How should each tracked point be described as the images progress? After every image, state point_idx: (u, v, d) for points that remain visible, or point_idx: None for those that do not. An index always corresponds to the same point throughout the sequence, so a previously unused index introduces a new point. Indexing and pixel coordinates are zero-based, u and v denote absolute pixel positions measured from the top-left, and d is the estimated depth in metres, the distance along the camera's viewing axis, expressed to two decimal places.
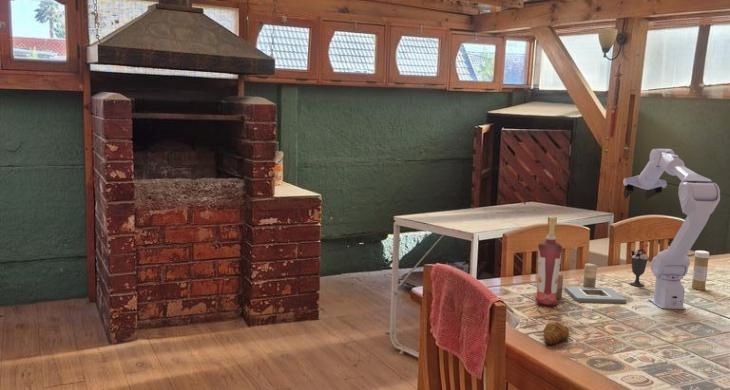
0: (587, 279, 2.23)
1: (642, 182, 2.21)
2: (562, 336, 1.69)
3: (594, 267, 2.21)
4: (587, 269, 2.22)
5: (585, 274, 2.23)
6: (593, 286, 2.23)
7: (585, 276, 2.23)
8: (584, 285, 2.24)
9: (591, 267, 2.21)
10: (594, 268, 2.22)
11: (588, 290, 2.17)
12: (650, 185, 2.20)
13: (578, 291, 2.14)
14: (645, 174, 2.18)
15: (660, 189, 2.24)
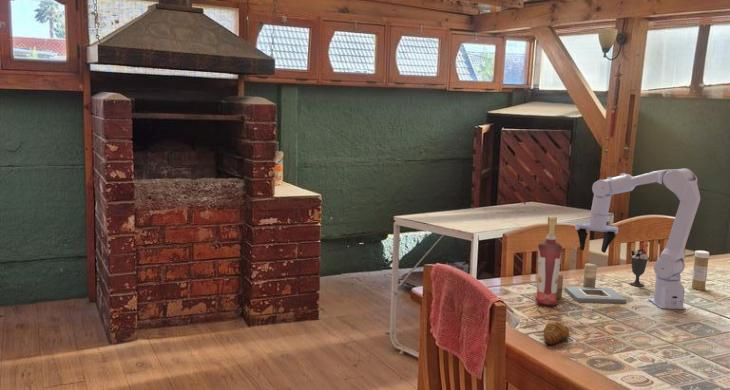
0: (587, 279, 2.23)
1: (593, 222, 2.21)
2: (562, 336, 1.69)
3: (594, 267, 2.21)
4: (587, 269, 2.22)
5: (585, 274, 2.23)
6: (593, 286, 2.23)
7: (585, 276, 2.23)
8: (584, 285, 2.24)
9: (591, 267, 2.21)
10: (594, 268, 2.22)
11: (588, 290, 2.17)
12: (601, 223, 2.20)
13: (578, 291, 2.14)
14: (598, 212, 2.20)
15: (613, 234, 2.22)
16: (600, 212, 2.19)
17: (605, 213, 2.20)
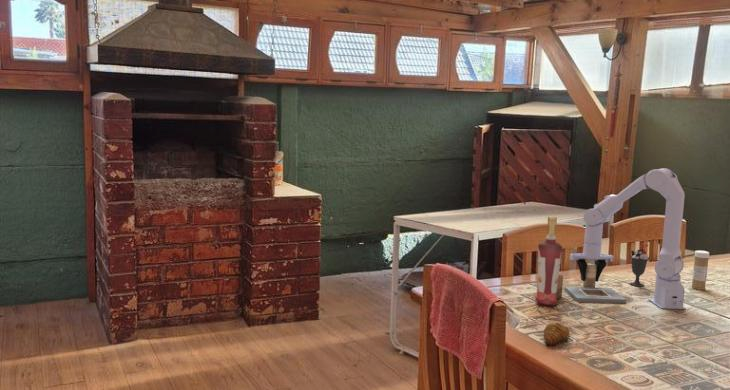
0: (587, 279, 2.23)
1: (587, 251, 2.21)
2: (562, 337, 1.69)
3: (594, 267, 2.21)
4: (587, 269, 2.22)
5: None
6: (593, 286, 2.23)
7: (585, 276, 2.23)
8: (584, 285, 2.24)
9: (591, 267, 2.21)
10: (594, 268, 2.22)
11: (588, 290, 2.17)
12: (596, 252, 2.20)
13: (578, 291, 2.14)
14: (592, 241, 2.19)
15: None
16: (594, 241, 2.19)
17: (599, 242, 2.20)
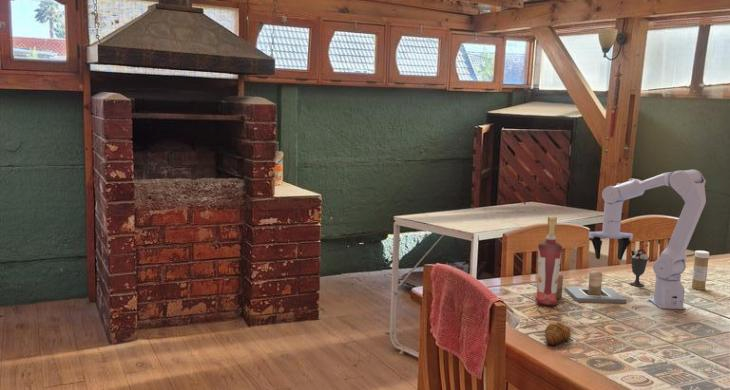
0: (591, 287, 2.12)
1: (606, 229, 2.20)
2: (564, 336, 1.69)
3: (599, 275, 2.11)
4: (591, 278, 2.12)
5: (590, 282, 2.12)
6: (598, 295, 2.12)
7: (590, 284, 2.12)
8: (589, 294, 2.13)
9: (596, 275, 2.11)
10: (599, 276, 2.11)
11: None
12: (615, 230, 2.19)
13: (578, 291, 2.14)
14: (610, 219, 2.18)
15: (628, 240, 2.20)
16: (612, 219, 2.18)
17: (617, 219, 2.18)
